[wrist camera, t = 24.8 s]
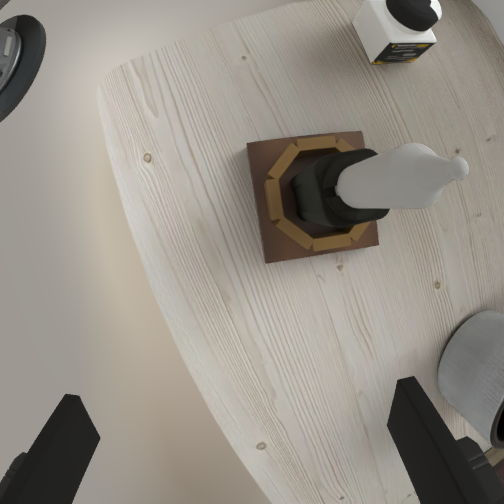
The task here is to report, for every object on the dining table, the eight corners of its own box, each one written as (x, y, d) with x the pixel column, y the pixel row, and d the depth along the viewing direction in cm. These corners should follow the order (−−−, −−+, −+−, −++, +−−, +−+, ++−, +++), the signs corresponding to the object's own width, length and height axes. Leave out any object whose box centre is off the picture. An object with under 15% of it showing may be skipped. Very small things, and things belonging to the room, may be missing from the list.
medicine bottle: (370, 65, 34) (409, 22, 22) (350, 22, 33) (380, -28, 21) (413, 62, 34) (458, 25, 22) (393, 20, 33) (430, -23, 21)
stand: (264, 260, 37) (267, 270, 30) (246, 147, 35) (246, 134, 29) (371, 242, 37) (393, 249, 30) (355, 135, 35) (374, 122, 29)
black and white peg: (287, 176, 33) (384, 98, 8) (333, 167, 33) (491, 96, 8) (298, 223, 34) (419, 258, 9) (343, 213, 34) (518, 226, 9)
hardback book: (514, 478, 46) (522, 487, 41) (460, 517, 47) (467, 528, 42) (524, 419, 42) (536, 429, 37) (459, 470, 43) (470, 483, 38)
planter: (501, 378, 40) (553, 417, 25) (430, 413, 40) (478, 470, 25) (509, 295, 38) (577, 321, 23) (434, 325, 38) (503, 371, 23)
